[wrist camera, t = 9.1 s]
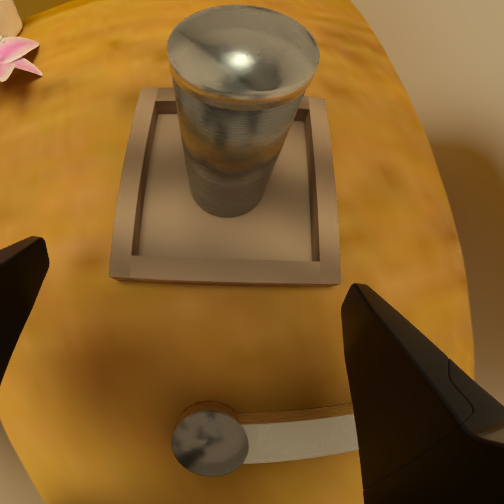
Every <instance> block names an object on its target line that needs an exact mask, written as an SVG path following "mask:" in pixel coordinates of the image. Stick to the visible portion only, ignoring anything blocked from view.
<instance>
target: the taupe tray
mask: <svg viewBox="0 0 504 504" xmlns="http://www.w3.org/2000/svg"><path fill="white" fill-rule="evenodd" d="M109 277H111V278H113V279H116V280H120V281H138V282H158V283H181V284H207V285H241V286H299V287H331V286H334V285H338V284H341V272H340V247H339V228H338V213H337V200H336V188H335V177H334V167H333V157H332V149H331V140H330V132H329V124H328V117H327V110H326V103H325V99H322V98H316V97H309V96H303V98H302V101H301V103H300V105H299V108H298V110H297V113H296V115H295V118H294V120H293V122H292V125H291V127H290V130H289V132H288V135H287V137H286V140H285V142H284V145H283V147H282V149H281V152H280V154H279V157H278V159H277V162H276V164H275V167H274V169H273V172H272V174H271V177H270V179H269V182H268V184H267V187H266V189H265V192H264V194H263V197H262V199H261V200H260V202H259V203H258V205H257V206H256V207H255V208H254V209H252V210H251V211H250V212H248V213H246V214H244V215H242V216H239V217H234V218H221V217H216V216H214V215H211V214H209V213H207V212H205V211H204V210H203V209H201V208H200V207H199V206H198V204H197V203H196V202H195V200H194V199H193V197H192V194H191V191H190V186H189V180H188V175H187V169H186V163H185V157H184V151H183V145H182V139H181V133H180V127H179V120H178V113H177V107H176V100H175V93H174V88H148V89H141V92H140V95H139V99H138V103H137V106H136V110H135V114H134V118H133V122H132V127H131V131H130V135H129V140H128V144H127V149H126V154H125V159H124V164H123V169H122V175H121V180H120V186H119V192H118V199H117V206H116V213H115V220H114V228H113V237H112V246H111V256H110V268H109Z"/></svg>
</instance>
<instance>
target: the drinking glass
mask: <svg viewBox="0 0 504 504" xmlns="http://www.w3.org/2000/svg"><path fill="white" fill-rule="evenodd" d="M22 25H23V24H22V21H21V19H20V17H19V15H18V12H17V10H16V7H15V4H14V1H13V0H0V35H1V36H3V35H4V36H5V35H7V36H6V37H4V38H7V37H16V36H17V35H18V34H19V32H20V31H21V29H22ZM4 38H3V39H4Z"/></svg>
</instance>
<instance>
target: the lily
mask: <svg viewBox="0 0 504 504" xmlns="http://www.w3.org/2000/svg"><path fill="white" fill-rule="evenodd" d="M6 36H7V35H5V36H4V35H3V36H1V35H0V81H1V82H3V81H5V80H6V79H7V78H8V77H9V76H10V74H11V73H12V71H13V69H14V68H18V69H22V70H26V71H29V72H32V73H35V74H38V75H41V76H43V75H42V73H41V71H40V70H39V69H38V68H37V67H36V66H34V65H33V64H32V63H31V62H29V61H28V60H26V59H25V58H22V56H23V55H25V54H27V53H28V52H30V51H31V50H32V49H34V48H36V47H37V46H39V43H38V42H36V41H33V40H30V39H27V38H22V37H7V38H4V37H6ZM3 38H4V39H3Z"/></svg>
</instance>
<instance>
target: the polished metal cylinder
mask: <svg viewBox="0 0 504 504" xmlns="http://www.w3.org/2000/svg"><path fill="white" fill-rule="evenodd" d="M167 52H168V60H169V68H170V72H171V75H172V78H173V86H174V93H175V100H176V107H177V113H178V120H179V127H180V133H181V139H182V145H183V151H184V157H185V163H186V169H187V175H188V180H189V186H190V191H191V194H192V197H193V199H194V200H195V202H196V203H197V204H198V206H199V207H200V208H201V209H203V210H204V211H205V212H207V213H209V214H211V215H214V216H216V217H221V218H234V217H239V216H242V215H244V214H246V213H248V212H250V211H251V210H252V209H254V208H255V207H256V206H257V205H258V203H259V202H260V200H261V199H262V197H263V194H264V192H265V189H266V187H267V184H268V182H269V179H270V177H271V174H272V172H273V169H274V167H275V164H276V162H277V159H278V157H279V154H280V152H281V149H282V147H283V145H284V142H285V140H286V137H287V135H288V132H289V130H290V127H291V125H292V122H293V120H294V118H295V115H296V113H297V110H298V108H299V105H300V103H301V101H302V98H303V96H304V93H305V91H306V89H307V88H308V86H309V85H310V83H311V80H312V78H313V76H314V73H315V71H316V69H317V66H318V63H319V58H320V53H319V48H318V45H317V43H316V41H315V39H314V38H313V36H312V35H311V34H310V32H309V31H308V30H307V29H306V28H305V27H303V26H302V25H301V24H300V23H298V22H297V21H295V20H294V19H292V18H290V17H288V16H286V15H284V14H282V13H279V12H277V11H274V10H271V9H267V8H263V7H258V6H251V5H223V6H217V7H212V8H208V9H205V10H202V11H199V12H197V13H194V14H192V15H190V16H189V17H187V18H186V19H184V20H183V21H181V22H180V23H179V24H178V25H177V26H176V27H175V28H174V29H173V31H172V33H171V34H170V36H169V39H168V43H167Z"/></svg>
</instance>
